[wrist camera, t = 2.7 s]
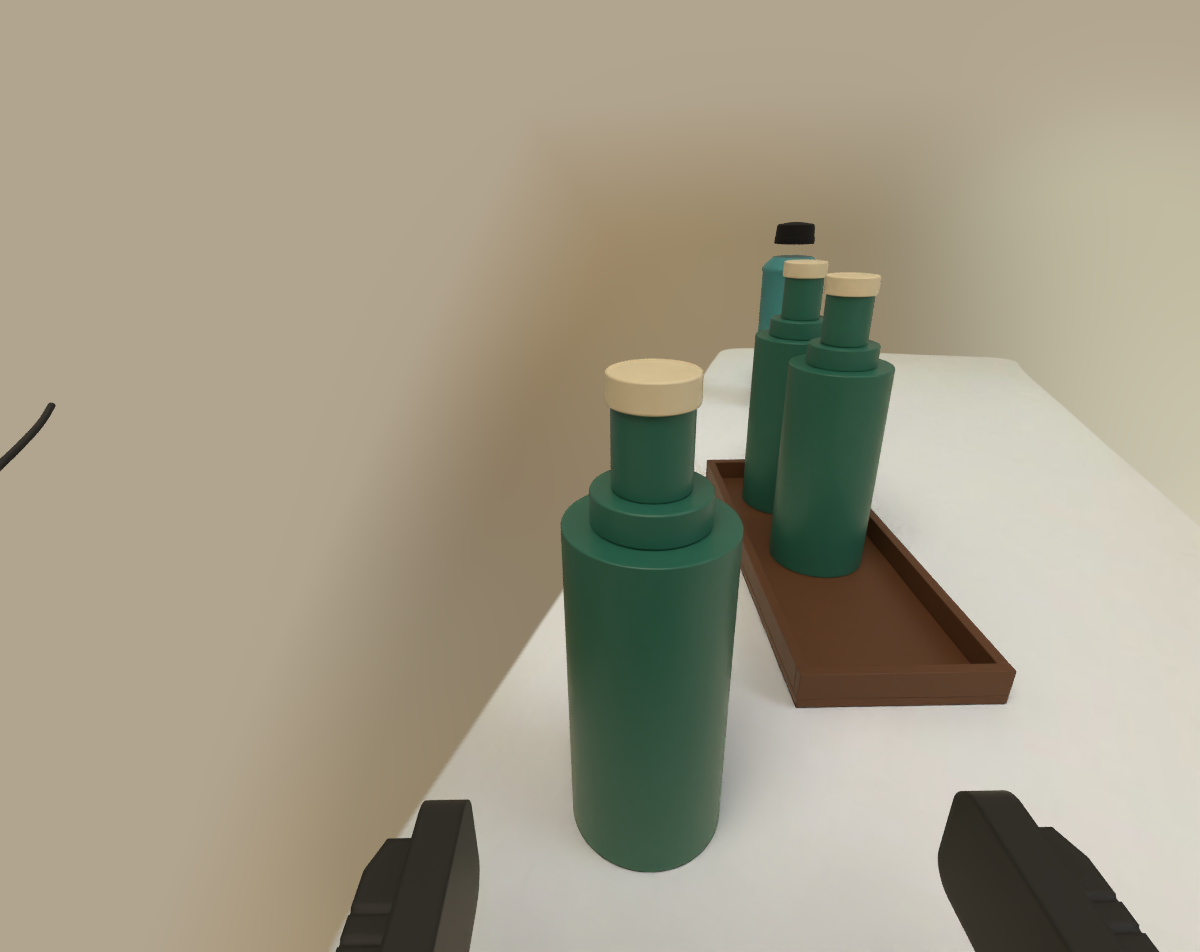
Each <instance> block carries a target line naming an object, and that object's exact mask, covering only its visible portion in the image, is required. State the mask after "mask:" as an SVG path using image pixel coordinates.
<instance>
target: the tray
mask: <svg viewBox="0 0 1200 952" xmlns="http://www.w3.org/2000/svg"><path fill="white" fill-rule="evenodd" d="M744 467H745V459H738V460H707V469H706V478H707V479H708V480H709V481H710V482H711V483H712V485H713V486H714V489H715V497H716V498H718V499H720V500H722V501H723V502H725V503H726V504H728V505H729V506H730V507H731V508H733V509H734V510H735V512H736V513H737V514H738V515H739V517H740V519H741V521H742V524H743V542H742V553H741V565H740V568H741V570H742V573H743V575H744V578H745V580H746V583H747V585H748V588H749V590H750V593H751V595H752V598H753V600H754V603H755V605H756V608H757V611H758V613H759V616H760V618H761V621H762V623H763V626H764V628H765V631H766V633H767V636H768V638H769V641H770V643H771V646H772V648H773V651H774V653H775V656H776V658H777V661H778V663H779V666H780V668H781V671H782V673H783V676H784V678H785V681H786V683H787V686H788V688H789V691H790V693H791V696H792V698H793V701H794V704H795V706H796V707H841V706H895V705H950V704H1004V703H1007V700H1008V695H1009V693H1010V690H1011V687H1012V684H1013V681H1014V678H1015V675H1016V670H1015V669H1014V668H1013V667H1012V666H1011V665H1010V664H1009V663H1008V661H1007V660H1006V659H1005V658H1004V657H1003V656H1002V655H1001V654H1000V652H999V651H998V650H997V649H996V648H995V647H994V646H993V645H992V644H991V642H990V641H989V640H988V639H987V638H986V637H985V636H984V635H983V633H982V632H981V631H980V630H979V629H978V628H977V627H976V626H975V625H974V623H973V622H972V621H971V620H970V619H969V618H968V617H967V616H966V614H965V613H964V612H963V611H962V610H961V609H960V608H959V607H958V605H957V604H956V603H955V602H954V601H953V600H952V599H951V598H950V597H949V595H948V594H947V593H946V592H945V591H944V590H943V589H942V588H941V586H940V585H939V584H938V583H937V582H936V581H935V580H934V579H933V578H932V576H931V575H930V574H929V573H928V572H927V571H926V570H925V569H924V567H923V566H922V565H921V564H920V563H919V562H918V561H917V560H916V559H915V557H914V556H913V555H912V554H911V553H910V552H909V551H908V550H907V548H906V547H905V546H904V545H903V544H902V543H901V542H900V541H899V540H898V538H897V537H896V536H895V535H894V534H893V533H892V532H891V531H890V529H889V528H888V527H887V526H886V525H885V524H884V523H883V522H882V521H881V519H880V518H879V517H878V516H877V515H876V514H875V513H874V512H873V510H872V509H870V514H869V520H868V526H867V531H866V537H865V543H864V548H863V554H862V560H861V564H860V566H859V568H858V569H857V570H856V571H854V572H853V573H851V574H848V575H846V576H841V577H835V578H820V577H812V576H807V575H803V574H799V573H796V572H794V571H791V570H789V569H787V568H785V567H783V566H782V565H780V564H779V563H777V562H776V561H775V560H774V559H773V558H772V556H771V554H770V551H769V543H770V534H771V525H772V515H773V514H769V513H765V512H762V511H759V510H756V509H754V508H752V507H751V506H749V505H748V504H746V503H745V501H744V500H743V497H742V491H743V479H744Z"/></svg>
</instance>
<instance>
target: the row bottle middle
mask: <svg viewBox="0 0 1200 952" xmlns="http://www.w3.org/2000/svg"><path fill="white" fill-rule="evenodd" d="M880 282H881V276H880V275H877V274H870V273H851V272H850V273H849V272H845V273H830V274H827V275H826V278H825V287H824V293H825V294H826V301H825V309H824V317H823V325H822V332H821V337H819V338H814V339H811V340H809V341H808V345H807V353H806V354H804V355H799V356H796V357H793V358H792V359H790V361H789V366H788V375H787V384H786V394H785V403H784V412H783V422H782V431H781V441H780V450H779V459H778V469H777V478H776V487H775V497H774V506H773V515H772V525H771V534H770V543H769V551H770V554H771V556H772V558H773V559H774V560H775V561H776V562H777V563H779V564H780V565H782V566H783V567H785V568H787V569H789V570H791V571H794V572H796V573H799V574H803V575H807V576H812V577H820V578H835V577H841V576H846V575H848V574H851V573H853V572H854V571H856V570H857V569H858V568H859V566H860V564H861V560H862V554H863V548H864V543H865V537H866V531H867V526H868V520H869V514H870V509H871V503H872V497H873V492H874V486H875V480H876V475H877V469H878V463H879V458H880V452H881V446H882V441H883V435H884V429H885V424H886V418H887V412H888V407H889V401H890V395H891V390H892V384H893V378H894V373H895V367H894V366H893V365H892V364H891V363H889V362H887V361H884V360H881V359H879V354H880V348H881V346H880V344H879V343H877V342H874V341H871V340H869V333H870V327H871V321H872V313H873V308H874V301H875V296H876V295H878V294H879V288H880Z"/></svg>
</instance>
